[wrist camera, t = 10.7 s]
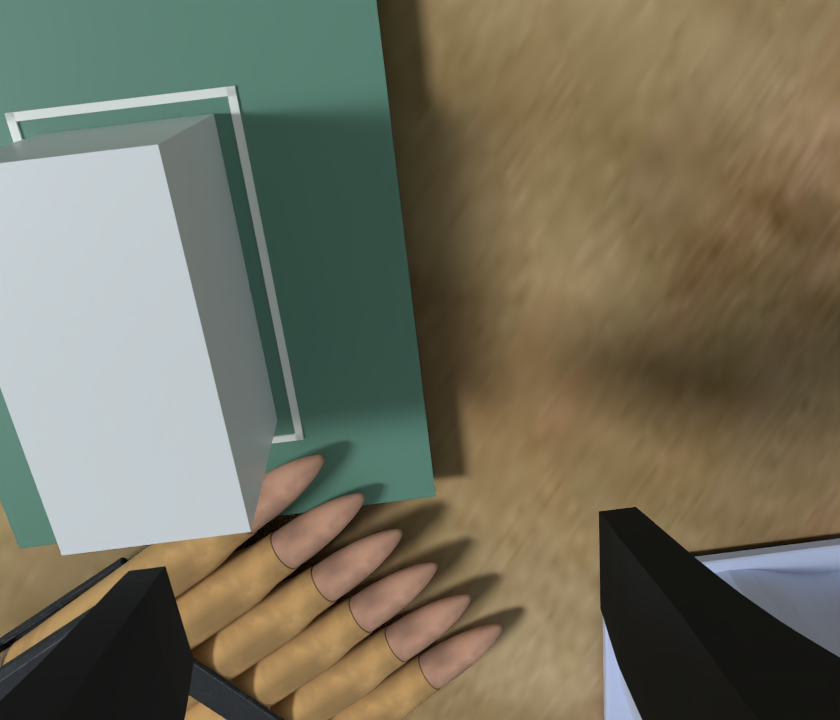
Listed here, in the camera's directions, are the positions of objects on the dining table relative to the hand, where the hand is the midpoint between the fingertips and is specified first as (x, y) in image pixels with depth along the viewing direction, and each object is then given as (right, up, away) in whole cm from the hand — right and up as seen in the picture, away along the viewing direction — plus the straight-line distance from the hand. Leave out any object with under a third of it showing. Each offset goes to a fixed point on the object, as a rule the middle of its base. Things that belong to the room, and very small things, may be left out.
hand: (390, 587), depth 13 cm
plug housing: (-6, +6, +6) cm, 10 cm away
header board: (-6, +6, +7) cm, 11 cm away
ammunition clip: (-9, -9, +12) cm, 17 cm away
